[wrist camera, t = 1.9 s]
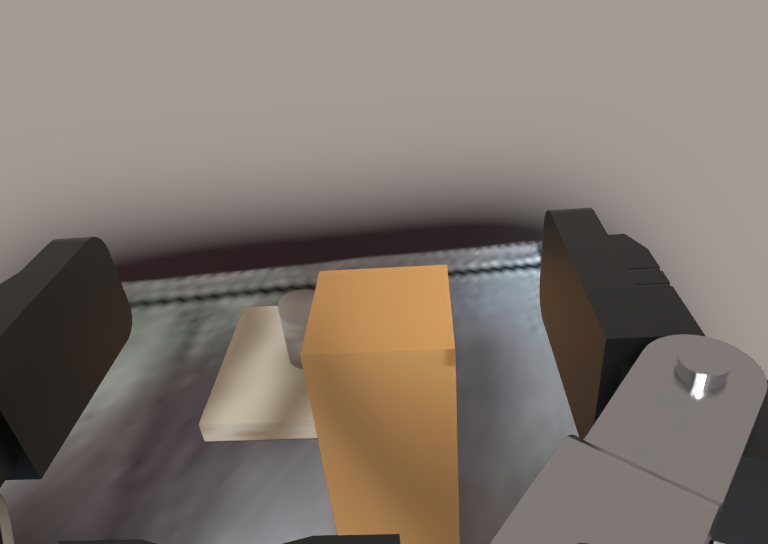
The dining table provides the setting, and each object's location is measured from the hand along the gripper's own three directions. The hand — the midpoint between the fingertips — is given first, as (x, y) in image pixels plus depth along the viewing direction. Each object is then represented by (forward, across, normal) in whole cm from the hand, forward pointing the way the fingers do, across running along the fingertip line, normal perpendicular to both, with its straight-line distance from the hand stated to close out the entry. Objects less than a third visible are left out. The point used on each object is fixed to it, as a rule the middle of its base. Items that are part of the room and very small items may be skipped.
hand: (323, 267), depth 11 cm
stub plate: (+22, +6, +22) cm, 32 cm away
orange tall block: (+10, 0, +22) cm, 24 cm away
